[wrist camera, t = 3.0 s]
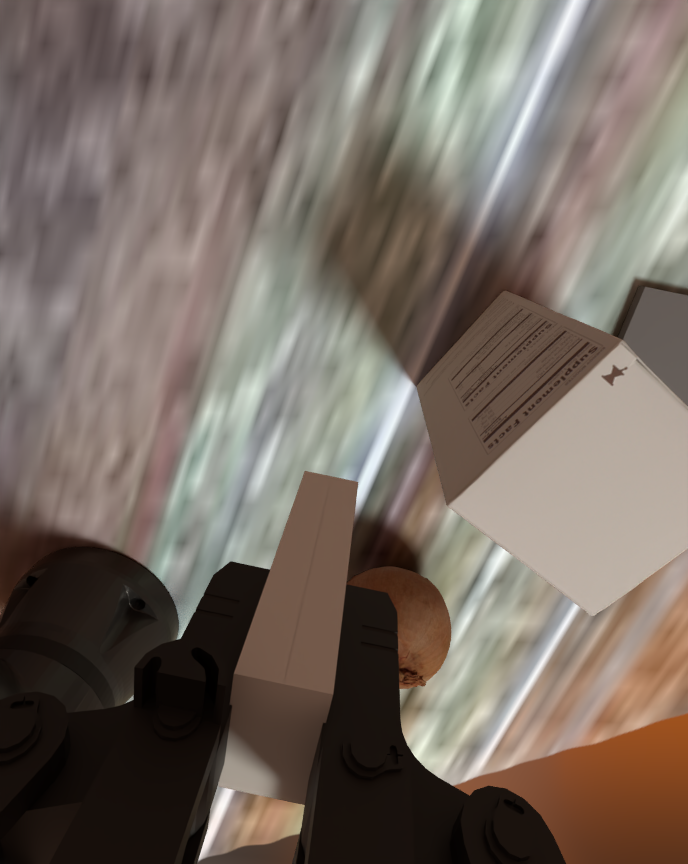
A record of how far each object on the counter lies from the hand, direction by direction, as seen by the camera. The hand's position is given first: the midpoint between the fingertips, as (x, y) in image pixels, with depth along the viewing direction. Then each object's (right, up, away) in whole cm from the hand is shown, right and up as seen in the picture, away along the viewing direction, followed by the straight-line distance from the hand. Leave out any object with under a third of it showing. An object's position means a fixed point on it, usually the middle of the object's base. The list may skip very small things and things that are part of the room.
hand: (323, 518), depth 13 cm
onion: (+5, -11, +29) cm, 31 cm away
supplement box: (+12, +6, +21) cm, 25 cm away
